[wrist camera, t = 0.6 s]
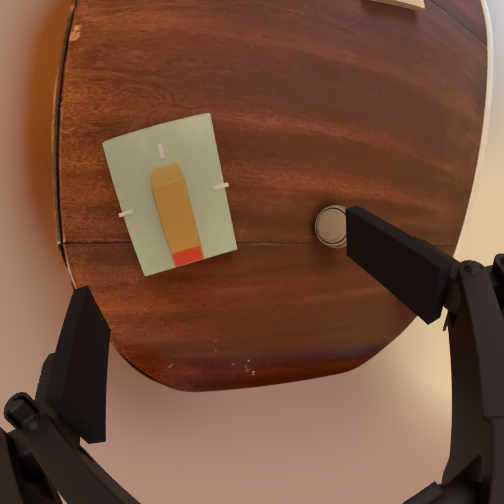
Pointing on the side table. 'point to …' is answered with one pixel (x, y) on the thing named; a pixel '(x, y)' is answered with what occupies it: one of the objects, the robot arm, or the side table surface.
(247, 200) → the side table surface
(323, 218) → the door knob
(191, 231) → the lock knob
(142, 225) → the plate
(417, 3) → the doorbell
